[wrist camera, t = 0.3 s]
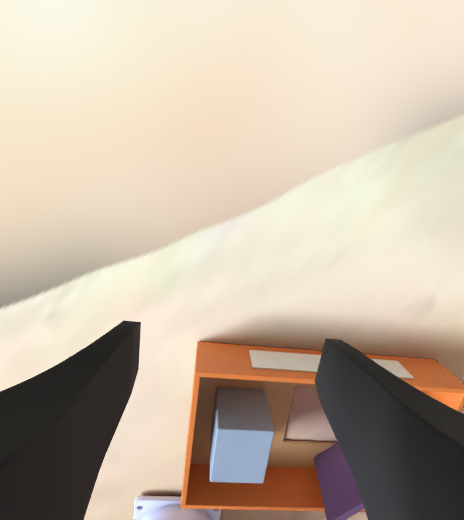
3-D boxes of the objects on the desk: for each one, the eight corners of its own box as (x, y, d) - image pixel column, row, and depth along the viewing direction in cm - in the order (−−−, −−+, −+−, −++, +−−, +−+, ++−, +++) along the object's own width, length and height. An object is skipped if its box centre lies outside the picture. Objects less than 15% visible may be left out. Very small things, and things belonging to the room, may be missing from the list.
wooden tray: (392, 472, 28) (416, 513, 25) (184, 465, 26) (179, 508, 23) (436, 358, 24) (472, 388, 21) (197, 340, 22) (195, 370, 19)
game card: (337, 537, 20) (455, 469, 19) (291, 470, 20) (404, 400, 19) (320, 467, 26) (407, 415, 25) (286, 418, 27) (370, 364, 26)
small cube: (255, 436, 25) (263, 484, 21) (210, 434, 25) (209, 482, 21) (265, 389, 24) (275, 431, 20) (216, 386, 23) (217, 428, 20)
